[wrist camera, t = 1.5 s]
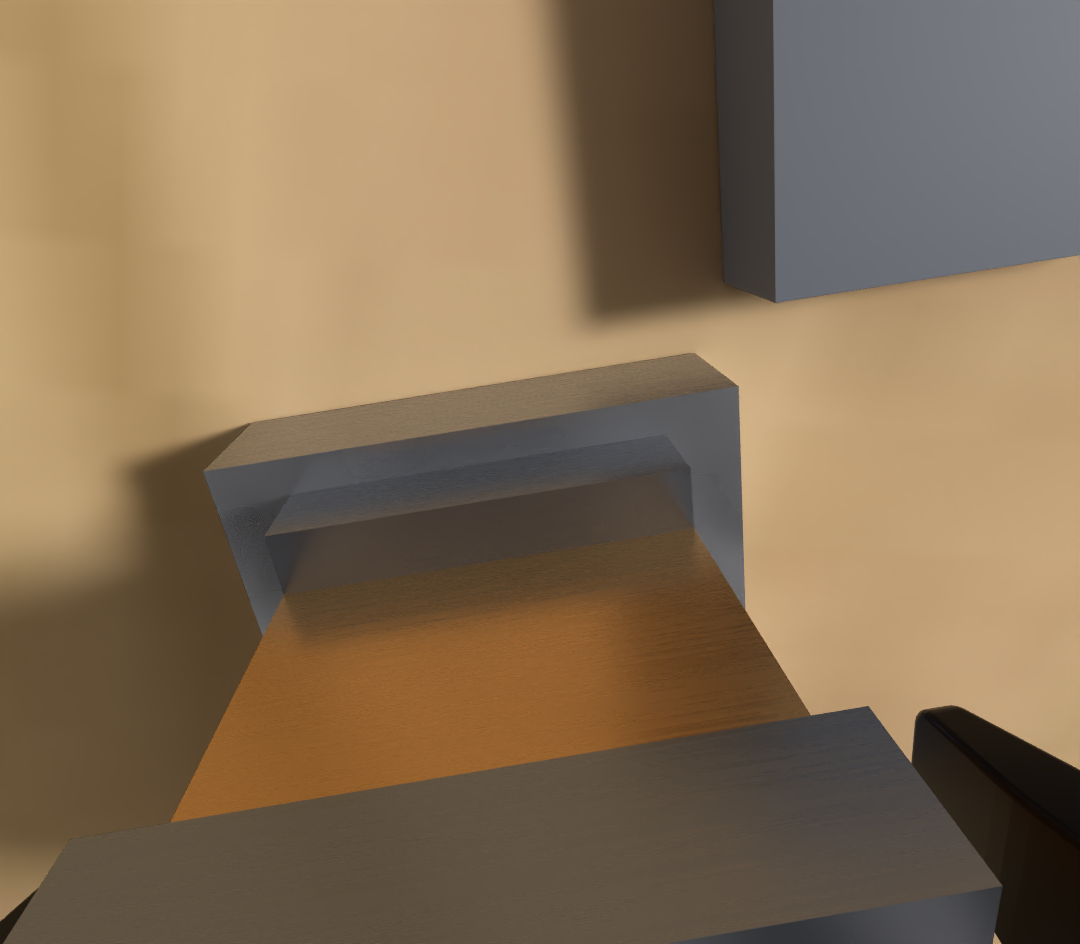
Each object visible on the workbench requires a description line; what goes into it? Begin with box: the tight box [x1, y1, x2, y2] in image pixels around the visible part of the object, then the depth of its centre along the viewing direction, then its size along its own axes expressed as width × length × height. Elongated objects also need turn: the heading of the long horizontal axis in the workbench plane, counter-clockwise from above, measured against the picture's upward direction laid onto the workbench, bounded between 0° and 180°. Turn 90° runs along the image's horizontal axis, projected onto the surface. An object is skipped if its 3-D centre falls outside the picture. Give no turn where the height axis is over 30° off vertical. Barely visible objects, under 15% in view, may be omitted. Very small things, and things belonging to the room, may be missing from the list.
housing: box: [3, 434, 1003, 944], centre depth 7 cm, size 6×5×6 cm
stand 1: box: [203, 353, 745, 636], centre depth 11 cm, size 7×7×2 cm
